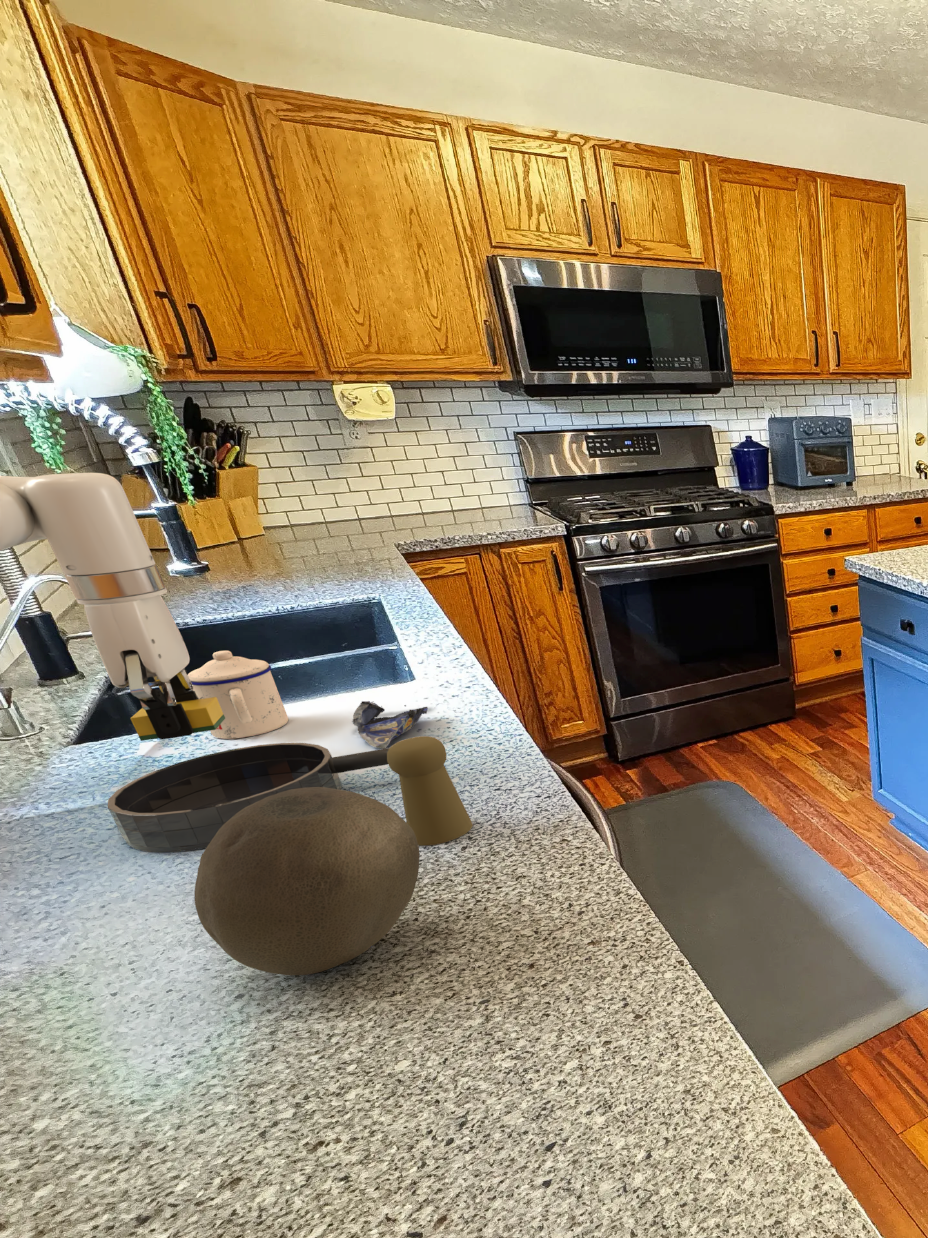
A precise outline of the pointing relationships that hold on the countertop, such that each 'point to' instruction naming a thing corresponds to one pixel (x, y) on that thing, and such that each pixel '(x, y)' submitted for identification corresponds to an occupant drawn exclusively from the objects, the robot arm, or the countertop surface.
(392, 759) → the cork
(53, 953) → the countertop surface
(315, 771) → the pan
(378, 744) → the snack package
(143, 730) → the sponge
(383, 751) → the pan handle
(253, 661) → the teacup with lid
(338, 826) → the cantaloupe
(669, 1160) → the countertop surface
